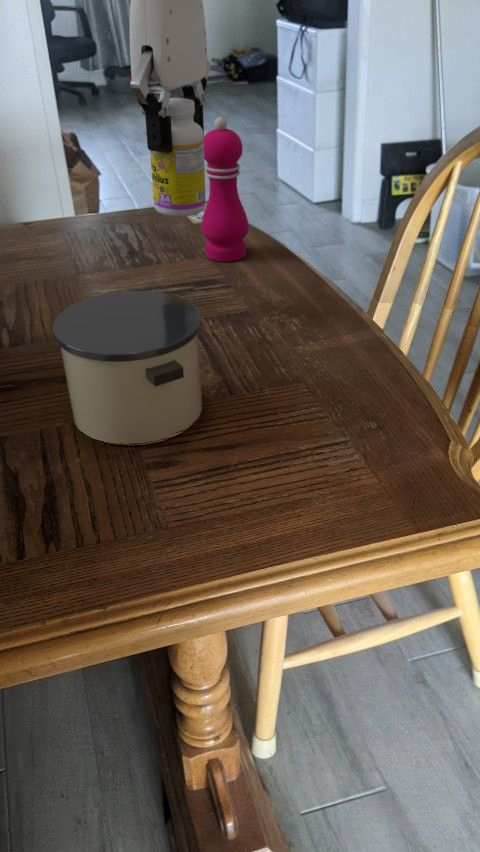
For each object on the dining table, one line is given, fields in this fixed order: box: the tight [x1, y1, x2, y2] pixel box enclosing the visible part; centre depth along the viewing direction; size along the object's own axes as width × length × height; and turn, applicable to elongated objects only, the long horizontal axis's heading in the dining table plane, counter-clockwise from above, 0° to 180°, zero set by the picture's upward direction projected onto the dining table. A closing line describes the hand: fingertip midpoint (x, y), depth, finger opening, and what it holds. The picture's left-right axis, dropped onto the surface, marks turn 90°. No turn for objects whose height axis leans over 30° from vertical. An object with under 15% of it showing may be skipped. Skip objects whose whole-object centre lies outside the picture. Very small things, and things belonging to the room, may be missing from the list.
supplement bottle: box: [149, 97, 207, 218], centre depth 97 cm, size 7×7×13 cm
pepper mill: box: [200, 116, 249, 263], centre depth 116 cm, size 7×7×20 cm
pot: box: [52, 290, 203, 444], centre depth 82 cm, size 15×17×11 cm
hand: (176, 143), depth 96 cm, fingers closed on supplement bottle, 6 cm apart
